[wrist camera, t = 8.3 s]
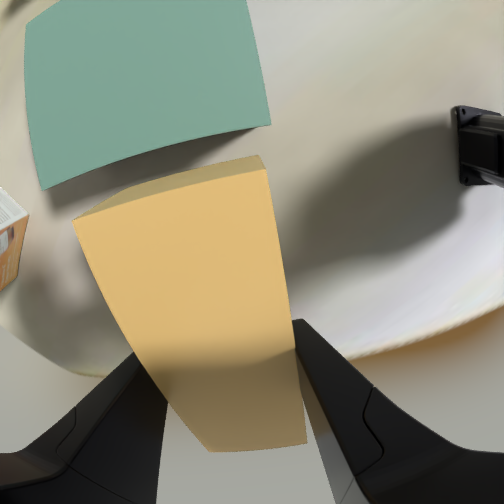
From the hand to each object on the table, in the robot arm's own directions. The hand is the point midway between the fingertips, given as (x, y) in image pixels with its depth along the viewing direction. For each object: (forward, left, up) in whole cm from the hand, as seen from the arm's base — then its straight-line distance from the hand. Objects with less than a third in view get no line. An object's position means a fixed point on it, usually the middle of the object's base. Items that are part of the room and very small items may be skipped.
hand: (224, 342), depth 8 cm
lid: (+3, -11, -6) cm, 13 cm away
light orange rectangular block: (0, 0, -2) cm, 2 cm away
